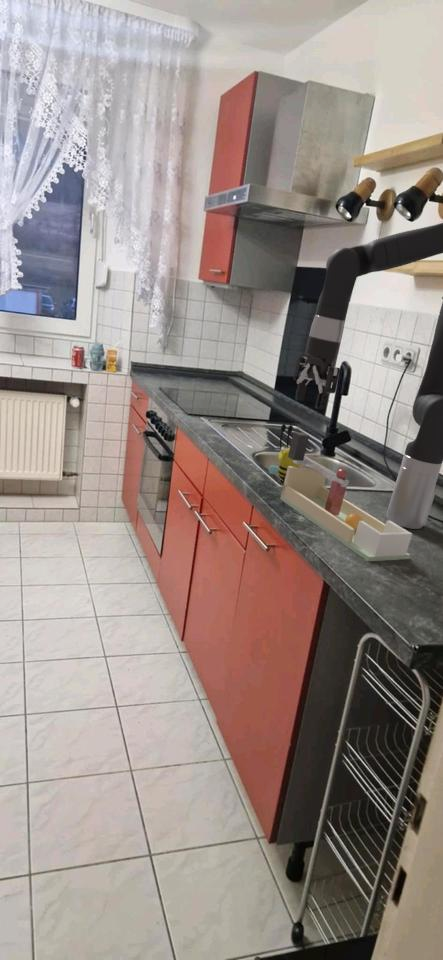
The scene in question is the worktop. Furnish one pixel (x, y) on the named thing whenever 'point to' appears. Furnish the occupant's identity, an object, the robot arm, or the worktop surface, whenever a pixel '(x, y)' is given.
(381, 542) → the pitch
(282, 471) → the toy
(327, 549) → the worktop surface
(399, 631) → the worktop surface
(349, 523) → the ball
